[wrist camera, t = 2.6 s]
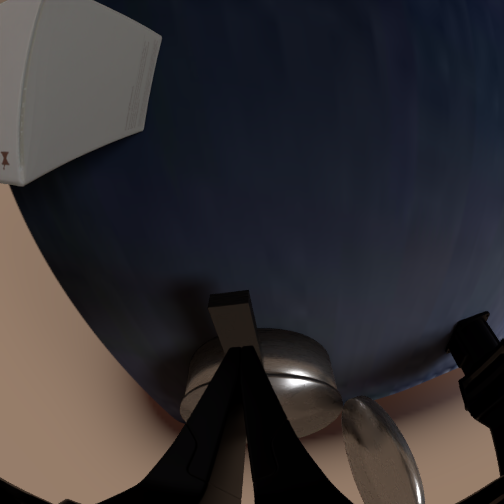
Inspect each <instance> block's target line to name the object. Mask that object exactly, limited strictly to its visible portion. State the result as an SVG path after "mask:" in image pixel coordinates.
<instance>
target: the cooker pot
mask: <svg viewBox="0 0 504 504" xmlns="http://www.w3.org/2000/svg"><path fill="white" fill-rule="evenodd" d="M208 310H209V313H210V315H211V318H212V321H213V324H214V326H215V329H216V332H217V334H218V337H216V338H214V339H212V340H210V341H208V342H207V343H205V344H203V345H202V346H201V347H200V348H199V349H198V350H197V351H196V352H195V353H194V355H193V357H192V359H191V362H190V367H189V373H188V379H187V385H186V392H185V396H184V397H183V399H182V401H181V405H180V413H181V416H182V418H183V419H184V420H185V422H187V420H188V418H189V417H190V415H191V413H192V412H193V410H194V408H195V407H196V405H197V403H198V402H199V400H200V398H201V396H202V395H203V393H204V391H205V390H206V388H207V386H208V384H209V383H210V381H211V379H212V378H213V376H214V374H215V372H216V371H217V369H218V367H219V365H220V364H221V362H222V360H223V358H224V357H225V355H226V353H227V351H228V350H229V348H231V347H241V348H242V347H243V346H250V345H252V346H254V348H255V350H256V352H257V355H258V357H259V359H260V361H261V363H262V365H263V368H264V370H265V372H266V374H267V376H268V378H269V380H270V383H271V385H272V387H273V389H274V391H275V393H276V395H277V397H278V399H279V401H280V403H281V406H282V408H283V410H284V412H285V414H286V416H287V418H288V420H289V422H290V424H291V426H292V428H293V430H294V431H295V433H296V435H297V437H298V438H300V437H304V436H307V435H309V434H312V433H314V432H316V431H319V430H321V429H322V428H324V427H326V426H327V425H329V424H330V423H331V422H333V421H334V420H335V419H336V418H337V417H338V416H339V414H340V413H341V411H342V408H343V401H342V397H341V395H340V393H339V391H338V390H337V388H336V383H335V379H334V375H333V370H332V366H331V362H330V358H329V355H328V353H327V351H326V350H325V348H324V347H323V346H322V345H321V344H319V343H318V342H317V341H315V340H314V339H312V338H310V337H308V336H305V335H303V334H300V333H297V332H293V331H288V330H282V329H272V328H257V326H256V321H255V317H254V312H253V308H252V303H251V299H250V294H249V290H244V291H236V292H228V293H220V294H212V295H210V298H209V304H208ZM246 443H247V437H246Z"/></svg>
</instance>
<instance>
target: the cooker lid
mask: <svg viewBox="0 0 504 504" xmlns="http://www.w3.org/2000/svg"><path fill="white" fill-rule="evenodd" d="M342 431H343V438H344V444H345V449H346V453H347V457H348V461H349V464H350V468H351V471H352V474H353V477H354V480H355V483H356V485H357V488H358V490H359V493H360V495H361V497H362V500H363V502H364V504H425V498H424V490H423V485H422V481H421V477H420V474H419V470H418V468H417V465H416V462H415V459H414V457H413V455H412V453H411V450H410V448H409V446H408V444H407V443H406V440H405V439H404V437H403V435H402V433H401V432H400V430H399V429H398V427H397V426H396V424H395V423H394V421H393V420H392V419H391V417H390V416H389V415H388V414H387V413H386V412H385V410H384V409H383V408H382V407H381V406H380V405H379V404H378V403H376V402H375V401H374V400H372V399H371V398H369V397H366V396H362V395H361V396H357V397H354V398H352V399H349V400H347V401H346V402H345V404H344V406H343V410H342Z"/></svg>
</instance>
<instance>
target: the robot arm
mask: <svg viewBox="0 0 504 504" xmlns="http://www.w3.org/2000/svg"><path fill="white" fill-rule="evenodd" d="M489 315H490V313H489V312H488V311H487V312H485V313H482V314H479V315H477V316H474V317H471V318H469V319H466V320H463V321H461V322H459V323H458V325H457V327H456V329H455V331H454V334H453V336H452V338H451V340H450V342H449V344H448V346H447V348H446V350H445V352H446V353H447V354H448V353H451V354H452V356H453V358H454V360H455V362H456V363H457V365H458V367H459V368H462V370H463V372H464V374H465V376H464V377H463V378H462V379H460V380H459V381H458V382H459V385H460V386H459V387H460V391H461V394H462V398H463V401H464V404H465V410H466V411H469V412H470V414H471V416H472V417H473V418H474V419H476V420H477V421H479V422H480V423H482V424H483V425H485V426H487V427H488V428H490V431H491V434H492V438H493V442H494V447H495V451H496V456H497V461H498V466H499V472H500V477H499V478H498V479H496V480H494V481H493V482H491V483H489V484H488V485H487V486H485V487H483V488H482V489H480V490H479V491H477V492H475V493H474V494H472V495H470V496H468V497H467V498H465V499H463V500H461V501H460V502H458V503H456V504H504V338H503V339H502V340H501V342H500V341H499V340H498V338H497V337H496V335H495V334H494V332H493V331H492V329H491V328H490V326H489V325H488V323H487V322H486V321H487V319H488V317H489ZM186 423H187V424H185V425H184V427H183V428H182V430H181V432H180V433H179V435H178V436H177V438H176V439H175V441H174V442H173V444H172V445H171V447H170V448H169V449H168V450H167V452H166V453H165V454H164V456H163V457H162V458H161V459H160V460H159V462H158V463H157V464H156V465H155V466H154V468H153V469H152V470H151V471H150V472H149V474H148V475H147V476H146V477H145V478H144V479H143V480H142V481H141V482H140V483H138V484H137V485H135V486H134V487H132V488H130V489H128V490H126V491H124V492H122V493H120V494H117V495H115V496H113V497H111V498H109V499H107V500H104V501H102V502H100V503H97V504H241V497H242V484H243V472H244V458H245V446H246V437H247V444H248V452H249V459H250V466H251V474H252V481H253V487H254V498H255V504H353V503H352V502H351V501H350V500H348V498H347V497H345V496H344V495H343V494H342V493H341V492H340V491H339V490H338V489H337V488H336V487H335V486H334V485H333V484H332V483H331V482H330V481H329V480H328V478H327V477H326V476H325V474H324V473H323V472H322V470H321V469H320V468H319V467H318V465H317V464H316V463H315V461H314V460H313V459H312V457H311V456H310V455H309V453H308V452H307V451H306V449H305V448H304V446H303V445H302V443H301V442H300V440H299V439H298V437H297V435H296V433H295V431H294V430H293V428H292V426H291V424H290V422H289V420H288V418H287V416H286V414H285V412H284V410H283V408H282V406H281V403H280V401H279V399H278V397H277V395H276V393H275V391H274V389H273V387H272V385H271V383H270V380H269V378H268V376H267V374H266V372H265V370H264V368H263V365H262V363H261V361H260V359H259V357H258V355H257V352H256V350H255V348H254V346H252V345H250V346H243V347H242V348H241V347H231V348H229V350H228V351H227V353H226V355H225V357H224V358H223V360H222V362H221V364H220V365H219V367H218V369H217V371H216V372H215V374H214V376H213V378H212V379H211V381H210V383H209V384H208V386H207V388H206V390H205V391H204V393H203V395H202V396H201V398H200V400H199V402H198V403H197V405H196V407H195V408H194V410H193V412H192V413H191V415H190V417H189V418H188V420H187V422H186ZM0 504H52V503H50V502H48V501H46V500H44V499H41V498H39V497H37V496H35V495H33V494H30V493H28V492H26V491H24V490H22V489H20V488H18V487H17V486H14V485H13V484H11V483H9V482H7V481H6V480H4V479H2V478H0ZM59 504H80V503H77V502H75V501H72V500H69V499H65V500H64V501H62V502H60V503H59Z"/></svg>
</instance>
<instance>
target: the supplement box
mask: <svg viewBox="0 0 504 504" xmlns="http://www.w3.org/2000/svg"><path fill="white" fill-rule="evenodd" d="M161 40H162V37H161V36H160V35H159V34H157V33H155V32H154V31H152V30H150V29H149V28H147V27H145V26H143V25H141V24H140V23H138V22H136V21H134V20H132V19H130V18H128V17H126V16H124V15H123V14H121V13H119V12H116V11H114V10H112V9H110V8H108V7H106V6H104V5H102V4H100V3H97V2H95V1H93V0H7V1H5V2H3V3H1V4H0V183H3V184H11V185H16V186H25V185H26V184H28V183H30V182H32V181H34V180H35V179H37V178H39V177H41V176H42V175H44V174H46V173H48V172H50V171H52V170H54V169H56V168H57V167H59V166H61V165H63V164H65V163H67V162H69V161H71V160H73V159H75V158H78V157H80V156H82V155H84V154H86V153H88V152H91V151H93V150H95V149H98V148H100V147H102V146H104V145H107V144H109V143H112V142H114V141H117V140H119V139H122V138H124V137H127V136H130V135H133V134H135V133H138V132H140V131H143V130H144V124H145V118H146V111H147V105H148V99H149V95H150V89H151V84H152V79H153V74H154V70H155V65H156V61H157V56H158V52H159V48H160V44H161Z"/></svg>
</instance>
